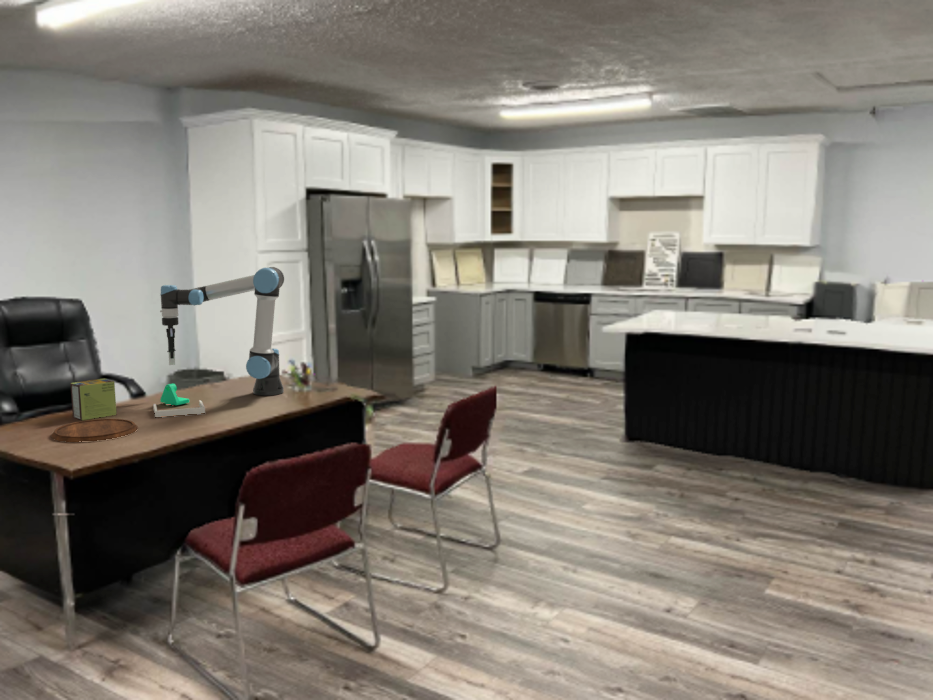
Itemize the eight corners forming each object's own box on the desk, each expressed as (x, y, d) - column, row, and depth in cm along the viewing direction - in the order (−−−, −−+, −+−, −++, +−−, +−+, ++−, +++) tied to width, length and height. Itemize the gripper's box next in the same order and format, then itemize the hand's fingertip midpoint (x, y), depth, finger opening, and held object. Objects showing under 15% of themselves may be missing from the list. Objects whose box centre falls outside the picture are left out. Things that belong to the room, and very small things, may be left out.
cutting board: (134, 420, 340) (134, 415, 339) (141, 438, 312) (140, 431, 311) (52, 428, 325) (51, 423, 325) (50, 447, 297) (50, 441, 297)
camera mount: (190, 404, 372) (189, 383, 370) (177, 407, 365) (176, 385, 364) (174, 401, 378) (173, 380, 376) (160, 404, 371) (159, 383, 370)
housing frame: (201, 406, 367) (201, 400, 366) (205, 413, 352) (204, 407, 351) (153, 410, 358) (153, 403, 358) (155, 418, 343) (154, 411, 343)
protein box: (117, 414, 349) (115, 381, 347) (81, 420, 338) (79, 385, 335) (107, 411, 356) (104, 378, 354) (72, 417, 345) (69, 382, 342)
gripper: (161, 315, 383) (163, 363, 386) (162, 318, 371) (164, 367, 375) (177, 315, 386) (179, 362, 389) (179, 318, 374) (181, 366, 378)
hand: (172, 364), depth 382 cm, fingers closed
